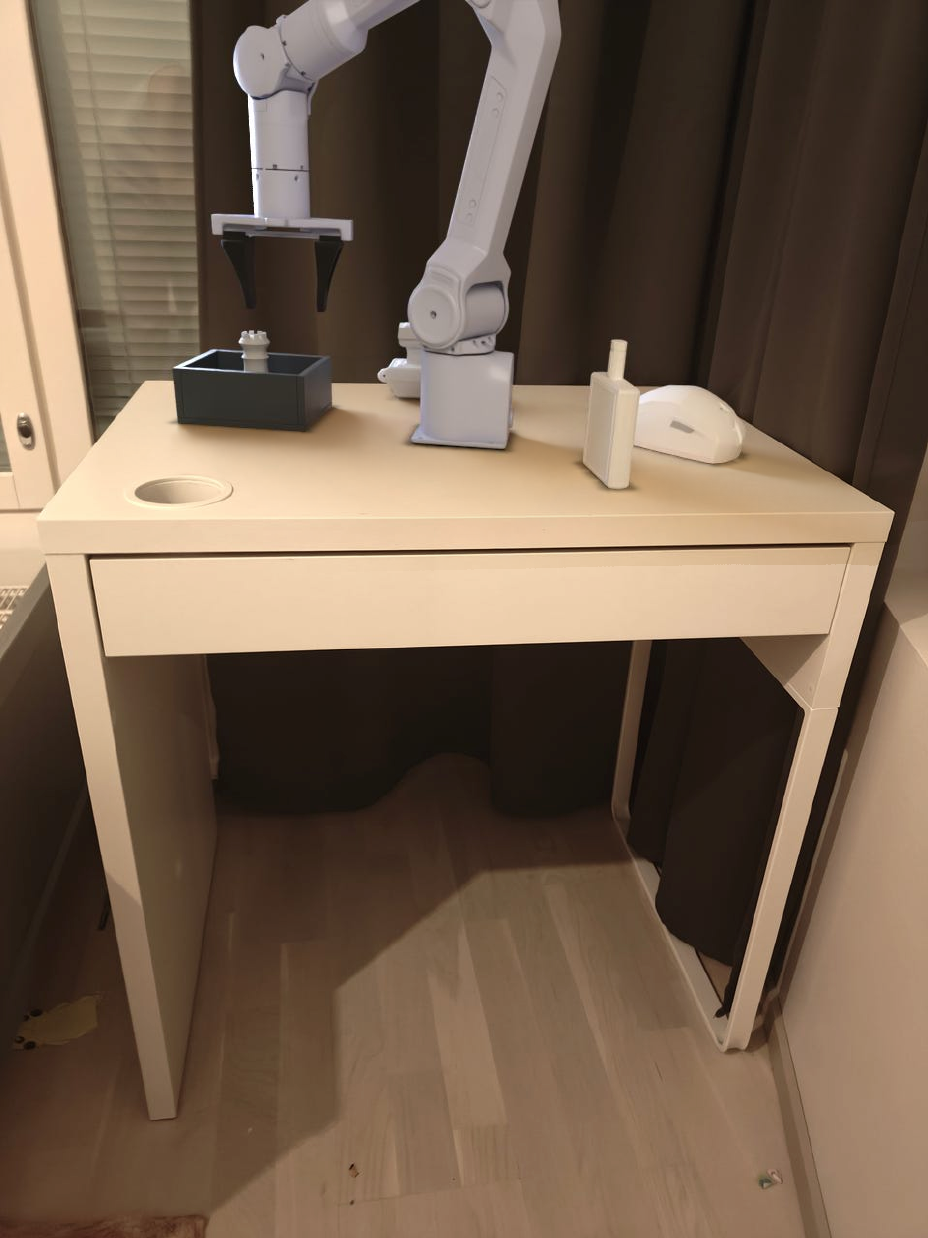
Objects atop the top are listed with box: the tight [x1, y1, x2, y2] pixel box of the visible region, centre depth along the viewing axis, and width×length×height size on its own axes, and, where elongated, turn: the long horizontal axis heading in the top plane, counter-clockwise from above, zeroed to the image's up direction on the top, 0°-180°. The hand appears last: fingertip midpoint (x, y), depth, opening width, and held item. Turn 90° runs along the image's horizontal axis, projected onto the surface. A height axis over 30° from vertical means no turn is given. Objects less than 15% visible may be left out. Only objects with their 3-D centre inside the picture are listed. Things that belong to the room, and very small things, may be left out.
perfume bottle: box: [582, 339, 641, 490], centre depth 81 cm, size 8×2×12 cm, turn 10°
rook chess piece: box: [238, 330, 271, 373], centre depth 97 cm, size 4×4×8 cm
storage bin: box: [171, 348, 333, 432], centre depth 98 cm, size 14×12×6 cm
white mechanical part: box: [377, 321, 422, 400], centre depth 109 cm, size 9×7×8 cm
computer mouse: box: [634, 384, 747, 464], centre depth 92 cm, size 6×13×6 cm, turn 47°
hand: (286, 309), depth 99 cm, fingers open, 7 cm apart
